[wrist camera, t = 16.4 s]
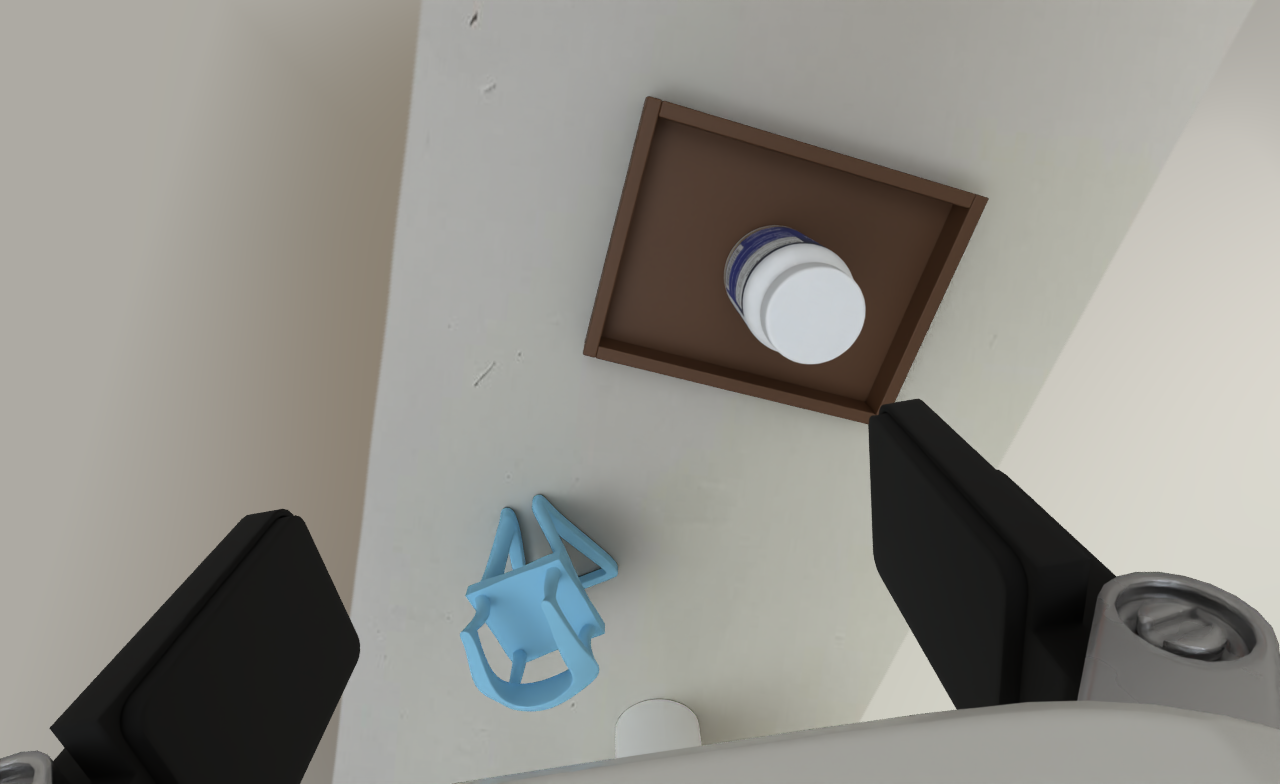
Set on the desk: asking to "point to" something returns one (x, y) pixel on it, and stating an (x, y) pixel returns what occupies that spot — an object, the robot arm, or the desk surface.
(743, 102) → the desk surface
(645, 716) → the cylindrical container
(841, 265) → the pill bottle
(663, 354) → the tray
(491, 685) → the chair
